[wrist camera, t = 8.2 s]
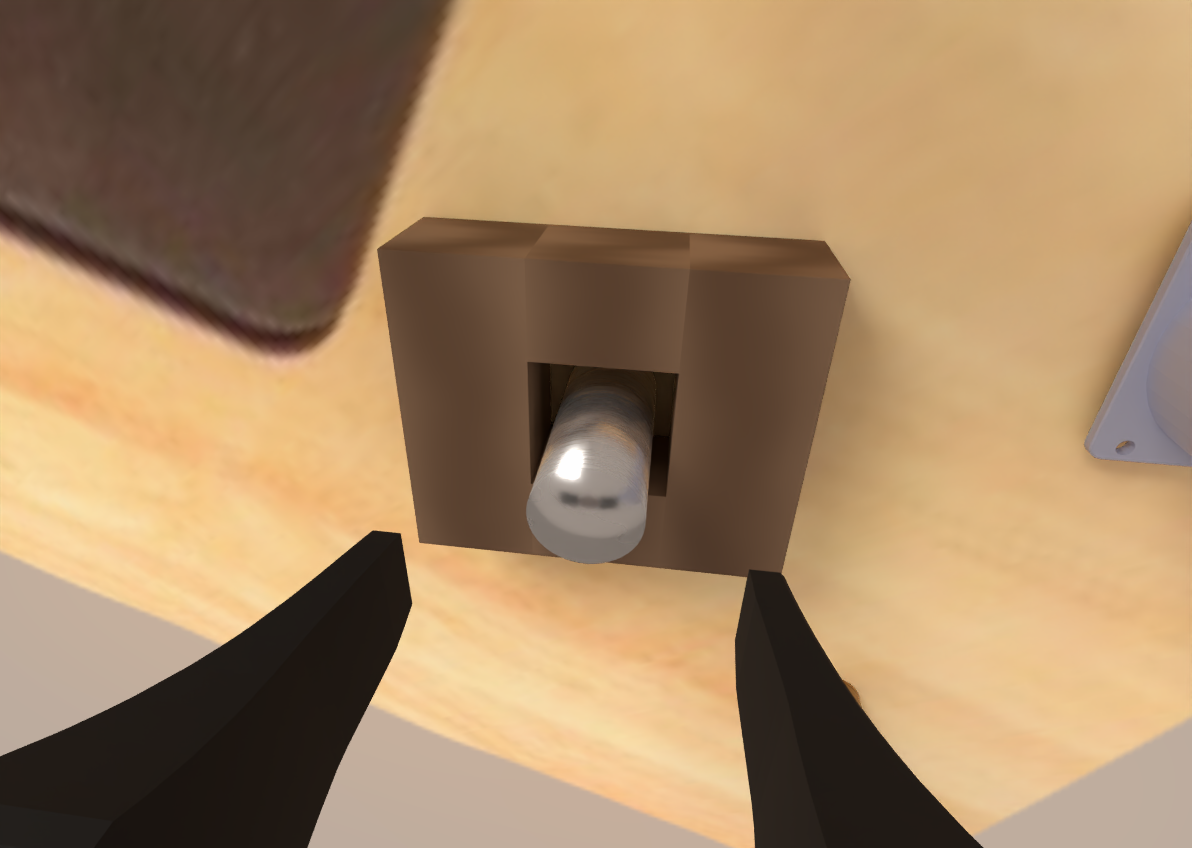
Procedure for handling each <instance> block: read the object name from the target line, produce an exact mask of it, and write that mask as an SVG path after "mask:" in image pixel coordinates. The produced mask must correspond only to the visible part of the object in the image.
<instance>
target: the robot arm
mask: <svg viewBox="0 0 1192 848" xmlns="http://www.w3.org/2000/svg"><path fill="white" fill-rule="evenodd" d="M1124 441H1127V443H1126V444H1125V445H1124V446H1122V447H1120V448H1116V447H1117V446H1118V445H1119V444H1120V443H1122V442H1124ZM1084 446H1085V449H1086V450H1087V451H1088V452H1089V453H1090V454H1091V455H1092V456H1093V457H1095V458H1098V459H1105V460H1117V461H1129V462H1140V463H1152V464H1164V465H1176V466H1187V467H1192V221H1191V223H1190V226H1189V228H1188V230H1187V232H1186V234H1185V236H1184V238H1183V240H1182V242H1181V244H1180V246H1179V248H1178V250H1177V252H1176V254H1175V256H1174V258H1173V260H1172V262H1171V264H1170V267H1169V269H1168V271H1167V273H1166V275H1165V277H1164V279H1163V281H1162V283H1161V285H1160V287H1159V289H1158V291H1157V293H1156V295H1155V297H1154V299H1153V301H1152V303H1151V305H1150V307H1149V310H1148V312H1147V314H1146V316H1145V318H1144V320H1143V322H1142V324H1141V326H1140V328H1139V330H1138V332H1137V334H1136V336H1135V338H1134V340H1133V342H1132V344H1131V346H1130V348H1129V351H1128V353H1127V355H1126V357H1125V359H1124V361H1123V363H1122V365H1121V367H1120V369H1119V371H1118V373H1117V375H1116V377H1115V379H1114V381H1113V383H1112V385H1111V387H1110V389H1109V391H1108V394H1107V396H1106V398H1105V400H1104V402H1103V404H1102V406H1101V408H1100V410H1099V412H1098V414H1097V416H1096V418H1095V420H1094V422H1093V424H1092V426H1091V428H1090V430H1089V432H1088V435H1087V437H1086V439H1085V442H1084ZM411 606H412V599H411V593H410V587H409V581H408V575H407V569H406V563H405V557H404V551H403V545H402V539H401V533H392V532H383V531H372V532H370V533H369V534H368V535H367V536H365V537H364V538H363V539H362V540H360V541H359V542H358V543H357V544H355V545H354V546H353V547H352V548H351V549H349V550H348V551H347V552H346V553H344V554H343V555H342V556H341V557H340V558H338V559H337V560H336V561H335V562H334V563H332V564H331V565H330V566H329V567H327V568H326V569H325V570H324V571H323V572H321V573H320V574H319V575H318V576H316V577H315V578H314V579H313V580H311V581H310V582H309V583H308V584H306V585H305V586H304V587H303V588H301V589H300V590H299V591H298V592H296V593H295V594H294V595H293V596H291V597H290V598H289V599H287V600H286V601H285V602H283V603H282V604H281V605H279V606H278V607H276V608H275V609H274V610H272V611H271V612H270V613H268V614H267V615H266V616H264V617H263V618H261V619H260V620H259V621H257V622H256V623H255V624H253V625H252V626H251V627H249V628H248V629H246V630H245V631H243V632H242V633H240V634H239V635H237V636H236V637H234V638H233V639H231V640H230V641H228V642H227V643H225V644H224V645H222V646H221V647H219V648H217V649H216V650H214V651H213V652H211V653H209V654H208V655H206V656H205V657H203V658H201V659H200V660H198V661H197V662H195V663H193V664H192V665H190V666H188V667H186V668H185V669H183V670H181V671H179V672H177V673H176V674H174V675H172V676H170V677H168V678H167V679H165V680H163V681H161V682H159V683H158V684H156V685H154V686H152V687H150V688H148V689H147V690H145V691H143V692H141V693H139V694H137V695H136V696H134V697H132V698H130V699H128V700H126V701H124V702H122V703H120V704H118V705H116V706H114V707H112V708H110V709H108V710H105V711H103V712H101V713H99V714H97V715H95V716H93V717H91V718H89V719H87V720H85V721H82V722H80V723H78V724H76V725H74V726H72V727H69V728H67V729H65V730H62V731H60V732H58V733H56V734H53V735H51V736H48V737H46V738H44V739H41V740H39V741H36V742H34V743H31V744H29V745H27V746H24V747H22V748H19V749H17V750H14V751H12V752H10V753H7V754H5V755H2V756H0V848H307V847H308V844H309V841H310V839H311V836H312V833H313V831H314V828H315V825H316V823H317V820H318V817H319V815H320V812H321V809H322V807H323V804H324V802H325V799H326V796H327V794H328V791H329V789H330V786H331V784H332V781H333V779H334V776H335V773H336V771H337V769H338V766H339V764H340V762H341V760H342V758H343V755H344V753H345V751H346V749H347V746H348V745H349V742H350V741H351V739H352V737H353V735H354V733H355V731H356V729H357V727H358V725H359V723H360V721H361V719H362V717H363V715H364V713H365V711H366V709H367V707H368V705H369V703H370V701H371V699H372V697H373V695H374V693H375V691H376V689H377V687H378V685H379V683H380V681H381V679H382V677H383V675H384V673H385V671H386V669H387V667H388V665H389V663H390V661H391V659H392V657H393V655H394V653H395V651H396V649H397V646H398V643H399V640H400V638H401V635H402V632H403V630H404V627H405V624H406V621H407V618H408V615H409V612H410V609H411ZM735 664H736V691H737V699H738V707H739V714H740V722H741V729H742V736H743V743H744V751H745V758H746V765H747V772H748V780H749V787H750V794H751V801H752V811H753V821H754V836H755V848H983V847H982V846H981V845H980V844H979V843H978V842H977V841H976V840H975V839H974V838H973V837H972V836H971V835H970V834H969V833H968V832H967V831H966V830H965V829H964V828H963V827H962V826H961V825H960V824H959V823H958V822H957V821H956V819H955V818H954V817H953V816H952V815H951V814H950V813H949V812H948V811H947V810H946V809H945V808H944V807H943V806H942V804H941V803H940V802H939V801H938V800H937V799H936V798H935V797H934V796H933V795H932V794H931V793H930V792H929V790H928V789H927V788H926V787H925V786H924V785H923V784H922V783H921V782H920V781H919V780H918V778H917V777H916V776H915V775H914V774H913V773H912V771H911V770H910V769H909V768H908V767H907V765H906V764H905V763H904V762H903V761H902V759H901V758H900V757H899V756H898V755H897V754H896V752H895V751H894V750H893V749H892V747H891V746H890V745H889V744H888V742H887V741H886V740H885V738H884V737H883V736H882V735H881V733H880V732H879V731H878V730H877V728H876V727H875V726H874V724H873V723H872V722H871V720H870V719H869V718H868V716H867V715H866V713H865V712H864V711H863V709H862V708H861V707H860V705H859V704H858V702H857V701H856V699H855V698H854V696H853V695H852V694H851V692H850V691H849V689H848V688H847V686H846V685H845V683H844V682H843V680H842V679H841V677H840V676H839V674H838V673H837V671H836V670H835V668H834V666H833V665H832V663H831V661H830V660H829V658H828V657H827V655H826V653H825V652H824V650H823V648H822V647H821V645H820V643H819V642H818V640H817V638H816V637H815V635H814V633H813V631H812V630H811V628H810V626H809V624H808V623H807V621H806V619H805V617H804V615H803V613H802V612H801V610H800V608H799V606H798V604H797V602H796V600H795V598H794V596H793V594H792V592H791V590H790V588H789V586H788V584H787V582H786V579H785V577H784V576H783V575H782V574H781V573H780V572H770V571H761V570H751V569H749V572H748V577H747V582H746V587H745V592H744V597H743V602H742V607H741V613H740V618H739V623H738V628H737V633H736V638H735Z"/></svg>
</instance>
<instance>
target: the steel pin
mask: <svg viewBox="0 0 1192 848" xmlns="http://www.w3.org/2000/svg"><path fill="white" fill-rule="evenodd" d="M656 391H657V388H656V380H655V377H654V374H653V373H652V371H640V370H627V369H615V368H602V367H589V366H576V365H575V366H574V368H573V370H572V372H571V375H570V378H569V381H568V384H567V387H566V390H565V393H564V395H563V398H562V401H561V404H560V407H559V410H558V413H557V416H556V419H555V422H554V425H553V428H552V431H551V434H550V437H549V440H548V443H547V446H546V449H545V452H544V454H543V457H542V460H541V463H540V466H539V469H538V472H537V475H536V478H535V481H534V484H533V487H532V490H531V493H530V496H529V499H528V502H527V507H526V516H527V521H528V524H529V527H530V529H531V531H532V533H533V535H534V536H535V537H536V539H537V540H538V541H539V542H540V543H541V544H542V545H543V546H544V547H545V548H546V549H548V550H549V551H551V552H552V553H554V554H556V555H557V556H560V557H562V558H564V559H567V560H570V561H574V562H578V563H586V564H598V563H605V562H610V561H613V560H616V559H618V558H621V557H623V556H624V555H626V554H628V553H629V552H630V551H632V550H633V549H634V548H635V547H636V546H637V544H638V543H639V541H640V540H641V538H642V536H643V534H644V530H645V524H646V513H647V501H648V488H649V476H650V464H651V452H652V440H653V428H654V416H655V404H656Z"/></svg>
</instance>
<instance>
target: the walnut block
mask: <svg viewBox="0 0 1192 848" xmlns="http://www.w3.org/2000/svg"><path fill="white" fill-rule="evenodd" d="M377 251H378V258H379V265H380V272H381V279H382V286H383V293H384V300H385V307H386V314H387V321H388V328H389V335H390V342H391V348H392V355H393V362H394V369H395V376H396V383H397V390H398V397H399V404H400V411H401V418H402V425H403V432H404V439H405V446H406V453H407V459H408V466H409V473H410V480H411V487H412V494H413V501H414V508H415V515H416V522H417V529H418V536H419V543H427V544H436V545H446V546H456V547H465V548H475V549H484V550H494V551H503V552H513V553H522V554H532V555H541V556H551V557H560V556H557V555H556V554H554V553H552V552H551V551H549V550H548V549H546V548H545V547H544V546H543V545H542V544H541V543H540V542H539V541H538V540H537V539H536V537H535V536H534V535H533V533H532V531H531V529H530V527H529V524H528V521H527V516H526V507H527V502H528V499H529V496H530V493H531V490H532V487H533V484H534V481H535V478H536V475H537V472H538V469H539V466H540V463H541V460H542V457H543V454H544V452H545V449H546V446H547V443H548V440H549V437H550V434H551V431H552V428H553V427H551V382H550V363H551V364H564V365H576V366H589V367H602V368H615V369H627V370H640V371H653V372H665V373H675V382H674V392H673V402H672V412H671V422H670V431H669V437H664V436H653V440H652V452H651V464H650V476H649V488H648V501H647V513H646V524H645V530H644V534H643V536H642V538H641V540H640V541H639V543H638V544H637V546H636V547H635V548H634V549H633V550H632V551H630V552H629V553H628V554H626V555H624V556H623V557H621V558H618V559H616V560H613V561H610V562H608V563H617V564H627V565H636V566H646V567H656V568H665V569H675V570H684V571H694V572H703V573H713V574H722V575H732V576H741V577H748V572H749V569H751V570H761V571H770V572H780V573H782V569H783V565H784V560H785V556H786V552H787V548H788V543H789V539H790V535H791V531H792V526H793V522H794V518H795V514H796V509H797V505H798V501H799V497H800V492H801V488H802V484H803V480H804V475H805V471H806V467H807V463H808V458H809V454H810V450H811V445H812V441H813V437H814V433H815V428H816V424H817V420H818V416H819V411H820V407H821V403H822V399H823V394H824V390H825V386H826V382H827V377H828V373H829V369H830V365H831V360H832V356H833V352H834V348H835V343H836V339H837V335H838V331H839V326H840V322H841V318H842V314H843V309H844V305H845V301H846V297H847V292H848V288H849V284H850V278H849V277H848V275H847V274H846V272H845V271H844V269H843V268H842V266H841V265H840V263H839V262H838V260H837V259H836V257H835V256H834V254H833V253H832V251H831V250H830V248H829V247H828V245H827V244H826V242H825V241H814V240H798V239H781V238H764V237H747V236H731V235H714V234H697V233H680V232H664V231H647V230H630V229H613V228H597V227H580V226H563V225H546V224H530V223H513V222H496V221H479V220H463V219H446V218H429V217H423V218H422V219H420V220H419V221H417V222H416V223H414V224H413V225H411V226H410V227H409V228H407V229H406V230H404V231H403V232H401V233H400V234H398V235H397V236H395V237H394V238H393V239H391V240H390V241H388V242H387V243H385V244H384V245H382V246H381V247H379V248H378V249H377ZM560 558H562V557H560Z"/></svg>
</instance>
